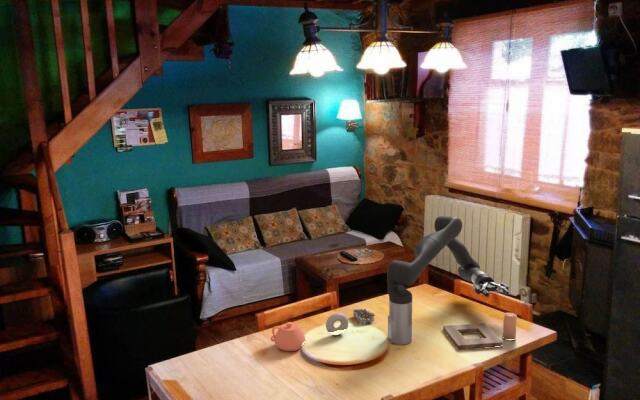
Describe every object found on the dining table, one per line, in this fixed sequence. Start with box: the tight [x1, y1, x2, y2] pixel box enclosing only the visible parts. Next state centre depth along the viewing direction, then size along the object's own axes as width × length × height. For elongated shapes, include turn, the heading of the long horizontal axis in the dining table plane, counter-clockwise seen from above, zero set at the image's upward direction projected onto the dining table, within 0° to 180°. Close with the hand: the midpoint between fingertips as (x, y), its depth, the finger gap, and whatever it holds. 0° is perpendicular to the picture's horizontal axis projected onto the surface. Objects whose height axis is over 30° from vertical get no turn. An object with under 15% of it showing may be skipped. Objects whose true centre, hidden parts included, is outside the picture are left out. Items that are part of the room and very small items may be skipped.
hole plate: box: [442, 322, 504, 351], centre depth 214 cm, size 18×18×2 cm
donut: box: [325, 312, 349, 333], centre depth 219 cm, size 10×4×10 cm, turn 109°
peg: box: [502, 312, 518, 340], centre depth 213 cm, size 5×5×10 cm
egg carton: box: [351, 308, 376, 325], centre depth 235 cm, size 11×8×4 cm
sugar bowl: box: [270, 321, 306, 352], centre depth 210 cm, size 12×14×10 cm
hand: (497, 294), depth 223 cm, fingers open, 8 cm apart
